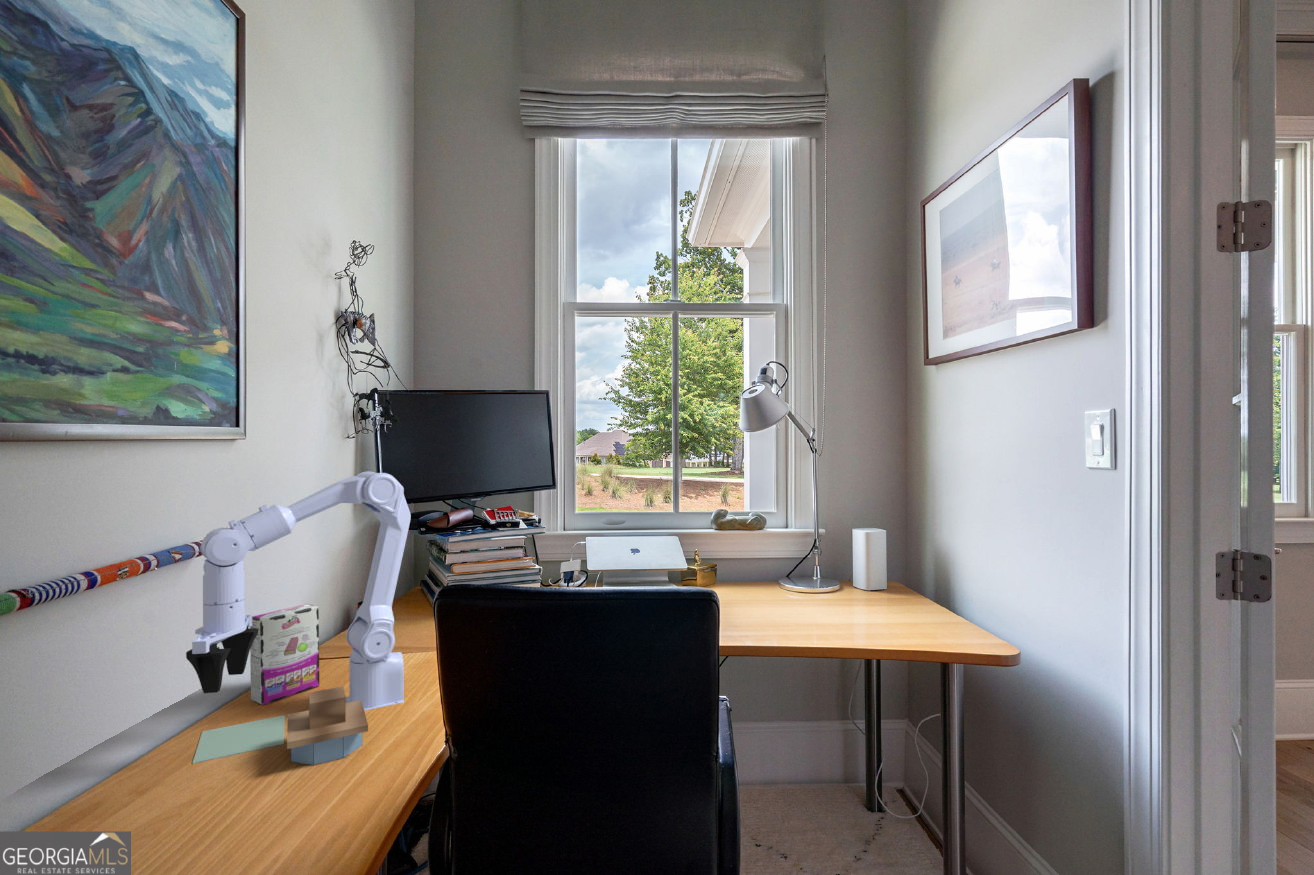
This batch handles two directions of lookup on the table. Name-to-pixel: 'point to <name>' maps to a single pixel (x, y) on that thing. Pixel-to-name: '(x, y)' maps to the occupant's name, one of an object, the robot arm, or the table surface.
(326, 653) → the table surface
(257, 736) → the mat
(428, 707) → the table surface
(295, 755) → the bowl
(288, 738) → the lid
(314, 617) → the candy bar box
